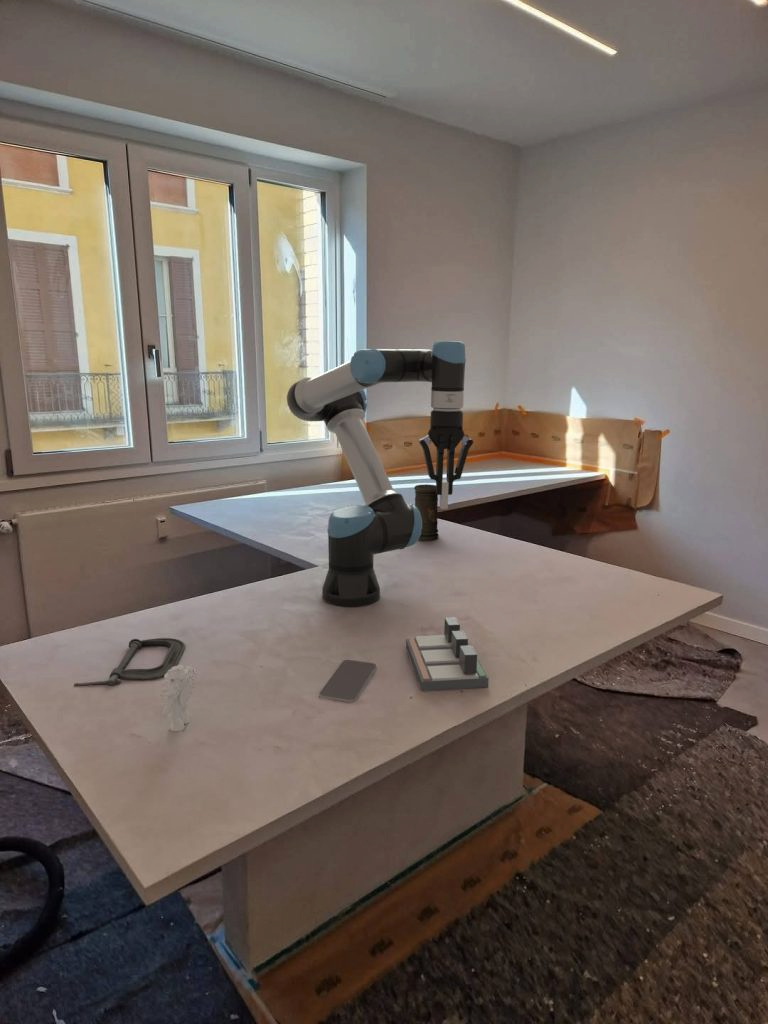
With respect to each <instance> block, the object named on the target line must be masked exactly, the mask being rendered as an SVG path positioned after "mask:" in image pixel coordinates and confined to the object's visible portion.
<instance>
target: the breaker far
mask: <svg viewBox="0 0 768 1024" xmlns="http://www.w3.org/2000/svg"><path fill="white" fill-rule="evenodd" d="M443 627H444V631H443V632H444V633H443V635H445V637H446V639H447V641H448V643H450V642H452V631H461V625H460V622H459V620H458V618H457V617H456V616H453V617H451V616H450V617H444V626H443Z"/></svg>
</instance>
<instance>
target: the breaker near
mask: <svg viewBox="0 0 768 1024" xmlns="http://www.w3.org/2000/svg"><path fill="white" fill-rule="evenodd" d="M473 646H474V645H471V644H469V645H468V646H460V658H459V665H460V667H461V669H462V671H463V673H464V674H476V671H477V659H478V654H477V652H476V650H475V648H474V647H473Z"/></svg>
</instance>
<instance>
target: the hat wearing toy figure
mask: <svg viewBox="0 0 768 1024" xmlns="http://www.w3.org/2000/svg"><path fill="white" fill-rule="evenodd" d="M196 670H197V669H195V668H193V666H192V665H188V666H185V664H184V665H182V664H178V665H177V666H174V667H172V668H171V669H170V670H168V671H167V673H166V674H165V675H164V678H165V679H167V680H169V683H168V682H166V684H165V686H164V687H163V688H161V689H159V691H158V693H160V695H159V697H160V698H161V699H162V701H163V702H166V703H165V705H164V706H165V707H164V708H163V710H162V711H161V713H160V714H161V716H162V718H163V719H168V715H169V714H170V713H171V720H172V723H171V724H170V725H169V731H172V732H182V731H184V729H185V725H187V724H188V723H190V721H191V719H190V715H189V712H188V710H187V706H188V704H187V703H188V701H189V700H190V698H191V695H192V694H193V683H192V681H191V680H190V679H192V680H193V681H195V680H196V679H197V673H196V672H197V671H196ZM163 697H165V698H167V699H165V698H163ZM171 708H172V709H171Z"/></svg>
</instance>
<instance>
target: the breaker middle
mask: <svg viewBox="0 0 768 1024" xmlns="http://www.w3.org/2000/svg"><path fill="white" fill-rule="evenodd" d="M468 643H469V638H468V636H467V635H466V633H465V631H464V630H460V631H452V642H451V649H452V651H453V653H454V655H455V657H456V658H458V657H460V646H468Z"/></svg>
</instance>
